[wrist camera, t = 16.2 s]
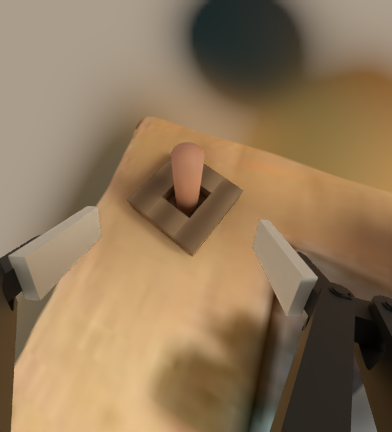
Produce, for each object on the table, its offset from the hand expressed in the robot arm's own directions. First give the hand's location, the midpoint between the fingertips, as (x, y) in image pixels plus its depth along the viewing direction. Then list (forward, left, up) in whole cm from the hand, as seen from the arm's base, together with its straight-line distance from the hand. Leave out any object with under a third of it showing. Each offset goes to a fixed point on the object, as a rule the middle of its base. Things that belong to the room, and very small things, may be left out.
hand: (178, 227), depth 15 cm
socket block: (+6, -8, -16) cm, 19 cm away
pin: (+6, -8, -16) cm, 19 cm away
